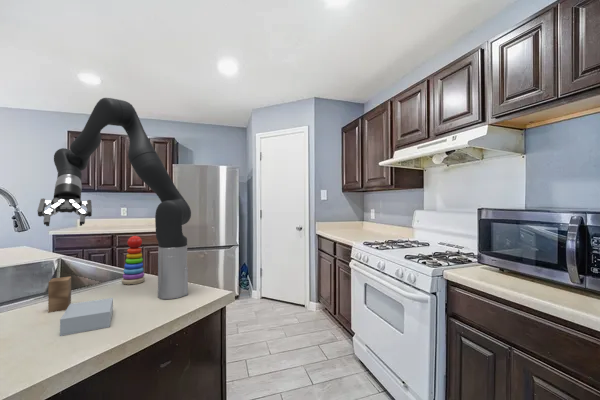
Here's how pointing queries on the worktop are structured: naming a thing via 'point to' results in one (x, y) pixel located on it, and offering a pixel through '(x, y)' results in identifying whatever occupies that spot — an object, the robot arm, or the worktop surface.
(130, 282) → the stacking toy
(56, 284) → the walnut block
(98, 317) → the slate slab
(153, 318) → the worktop surface
